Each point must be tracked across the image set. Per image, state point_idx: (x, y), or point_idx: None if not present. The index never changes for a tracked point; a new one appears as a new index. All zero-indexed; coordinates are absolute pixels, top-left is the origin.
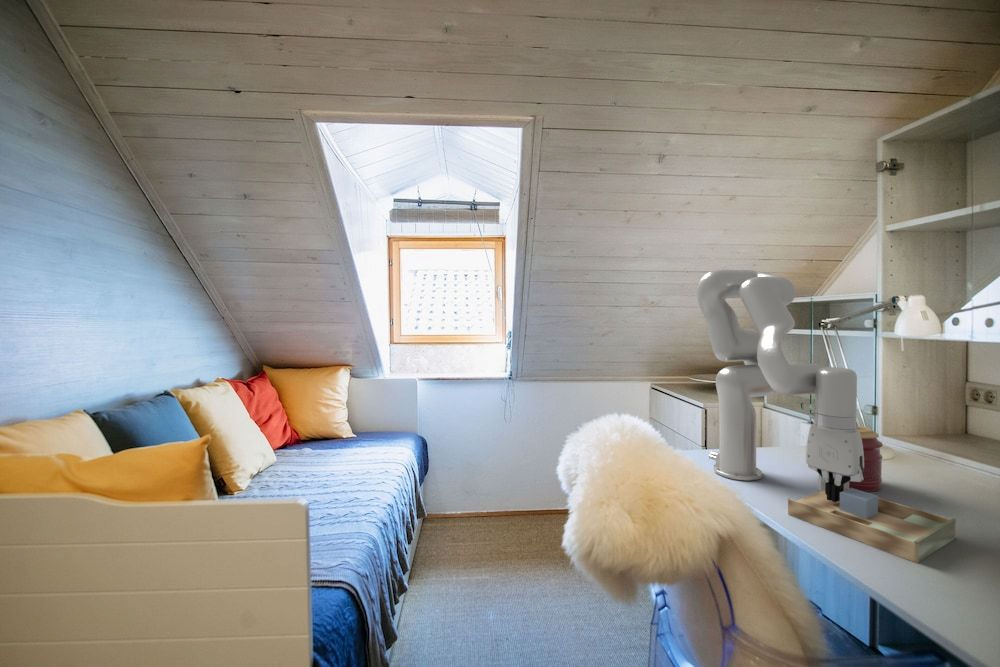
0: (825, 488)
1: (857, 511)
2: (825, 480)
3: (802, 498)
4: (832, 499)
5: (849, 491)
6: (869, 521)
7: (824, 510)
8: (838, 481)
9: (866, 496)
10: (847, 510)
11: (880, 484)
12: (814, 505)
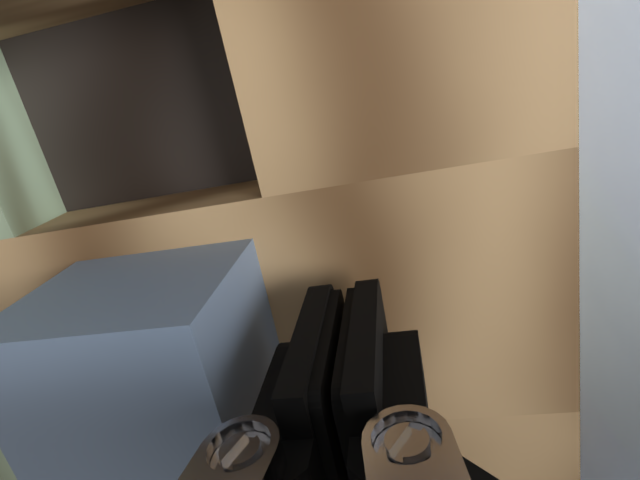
0: (419, 364)
1: (109, 271)
2: (414, 433)
3: (575, 165)
4: (324, 290)
5: (189, 439)
6: (38, 240)
7: (283, 96)
8: (210, 473)
9: (45, 447)
10: (190, 254)
11: None
12: (402, 116)
